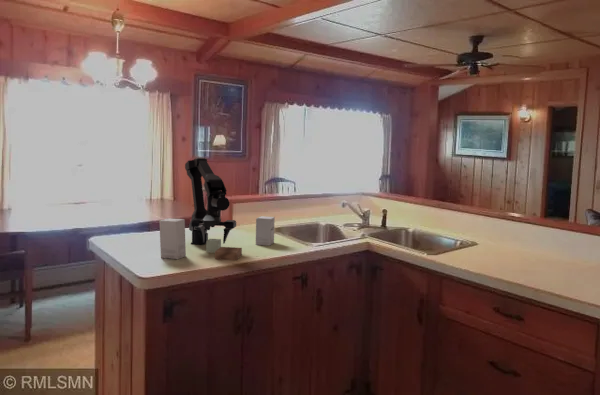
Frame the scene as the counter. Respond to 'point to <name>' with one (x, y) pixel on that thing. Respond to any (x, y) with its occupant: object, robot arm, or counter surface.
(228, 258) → the walnut block
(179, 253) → the skincare box
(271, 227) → the supplement box
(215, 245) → the sage cube
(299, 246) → the counter surface
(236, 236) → the counter surface
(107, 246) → the counter surface
